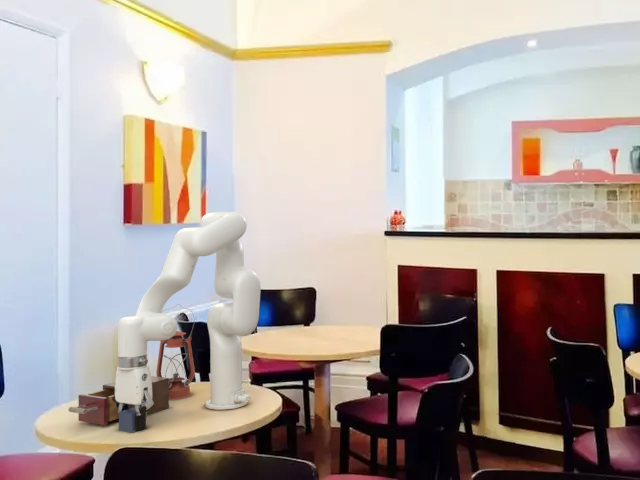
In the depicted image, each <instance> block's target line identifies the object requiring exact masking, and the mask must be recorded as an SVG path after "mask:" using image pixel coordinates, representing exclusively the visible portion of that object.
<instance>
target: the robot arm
mask: <svg viewBox="0 0 640 480" xmlns="http://www.w3.org/2000/svg"><path fill="white" fill-rule="evenodd" d="M247 225H248V224H247V220H246V218H245V216H244V215H242V214H241V213H240V212H236V211H213V212H208V213H206V214H204V215H203V216H202V218H201V220H200V227H184V228H182V229H180V230H178V231H177V232H176V234H175V236H174V237H173V240H172V243H171V246H170V249H169V251H168V254H167V256H166V258H165V261H164V264H163V267H162V270H161V272H160V274H159V276H158V277H157V278H156V280H155V281H154V282H153V283H152V284H151V285H150V287H149V288H148V289H147V290H146V292H144V294H143V296H142V298H141V300H140V302H139V305H138V307H137V309H136V312H135V315H133V316H131V315H130V316H125V317H122V318H120V319H119V320H118V321H117V367H116V371H115V378H114V382H115V395H114V396H113V398H112V400H113V401H114V403H115V404H116V406H117V408H118V413H119V412H121V411H124V410H127V409H129V407H130V404H132V405H135V409H136V414H137V416H135V430H136V431H135V432H138V431H141V430H143V429H146V428H147V415H146V414H147V411H148V410H149V409H150V407H151V406H152V405H153V404H154V402H153V400H152V381H151V376H152V374H151V369H150V366H148V363H149V359H148V342H160V341H163V340H168V339H170V338H171V337H173V336H174V335H175V333H176V332H177V331H178V327H179V326H178V321H177V319H176V318H174V316H172V315H171V314H167V313H162V312H163V310H164V307H165V305H166V303H167V302H168V300H169V299H171V297H172V296H174V295H175V294H176V293H178V292H180V291H182V290H183V289H185V287H187V286H188V285H189V284H190V283H191V280H192V276H193V274H194V271H195V268H196V265H197V263H198V260H199V257H208V256H211V255H213V254H215V271H214V283H213V287H214V291H215V294H217V296H219V297H221V298H224V299H230V300H231V299H232V302H227V301H225V302H218V303H216V304H214V305H212V307H210V309H209V311H208V313H207V315H206V325H207V330H208V337H209V349H210V351H209V352H210V353H209V354H210V358H209V359H210V360H209V363H210V366H209V367H210V369H209V370H210V371H209V372H210V375H209V376H210V377H209V379H210V399H208V400H207V401H205V403H204V405H205V408H207V409H210V410H215V411H216V410H217V411H221V410H222V411H223V410H225V411H226V410H232V409H238V408H242V407H245V406H246V405H247V404H248V403H249V402H250V400H251V398H252V395H251V394H246V389H244V388H243V344H242V339H241V337H246V336H249V335H251V334H252V333H253V332H255V330H256V329H257V326H258V323H259V318H260V305H261V289H262V288H261V287H262V286H261V280H260V278H259V275H258V274H257V273H256V272H255V271H254V270H252V269H250V268H245V265H244V264H245V262H244V261H245V251H244V246H243V243H242V240H241V238H242V237H243V236H244V235H245V233H246V231H247ZM140 405H142V408H141V409H140ZM145 427H146V428H145Z"/></svg>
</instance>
